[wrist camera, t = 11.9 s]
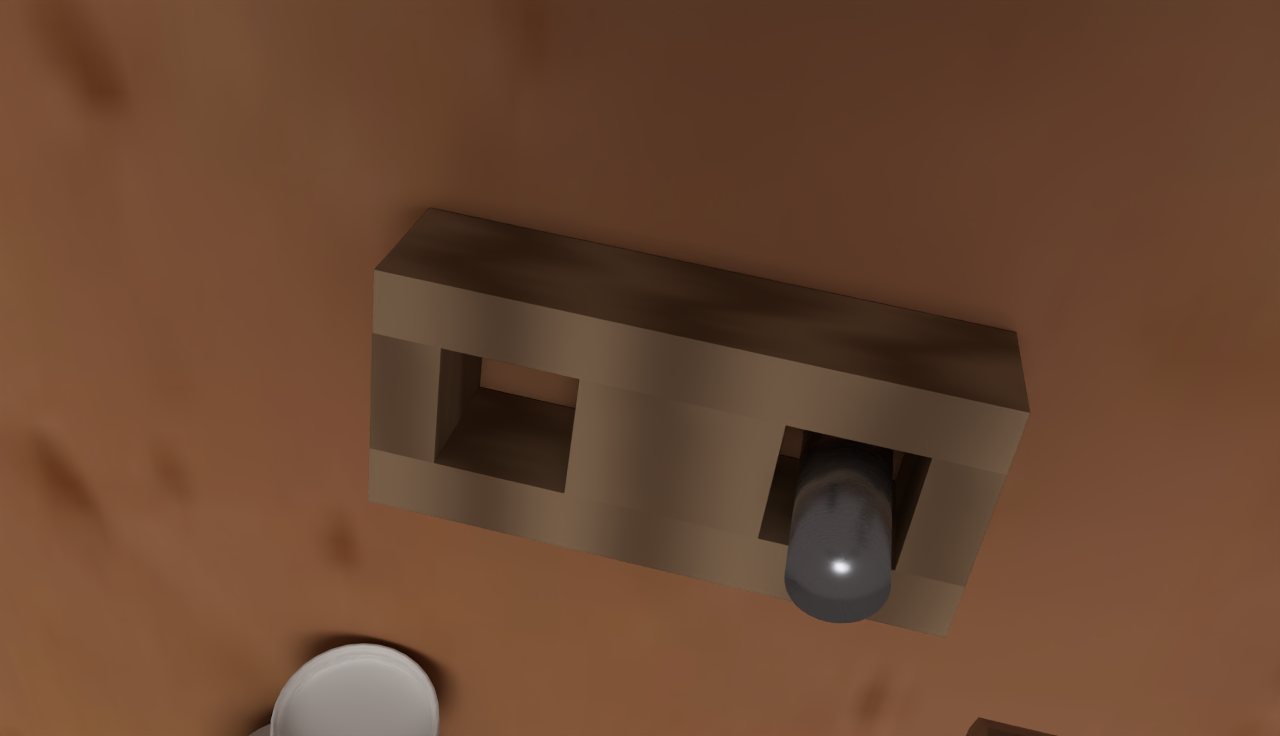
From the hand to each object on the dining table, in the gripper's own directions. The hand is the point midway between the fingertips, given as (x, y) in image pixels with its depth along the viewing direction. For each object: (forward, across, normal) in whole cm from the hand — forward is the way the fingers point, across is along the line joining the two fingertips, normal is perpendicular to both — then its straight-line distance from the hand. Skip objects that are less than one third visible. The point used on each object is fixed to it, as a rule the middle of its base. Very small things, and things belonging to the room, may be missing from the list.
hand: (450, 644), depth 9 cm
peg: (+29, -6, +15) cm, 33 cm away
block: (+29, 0, +15) cm, 33 cm away
